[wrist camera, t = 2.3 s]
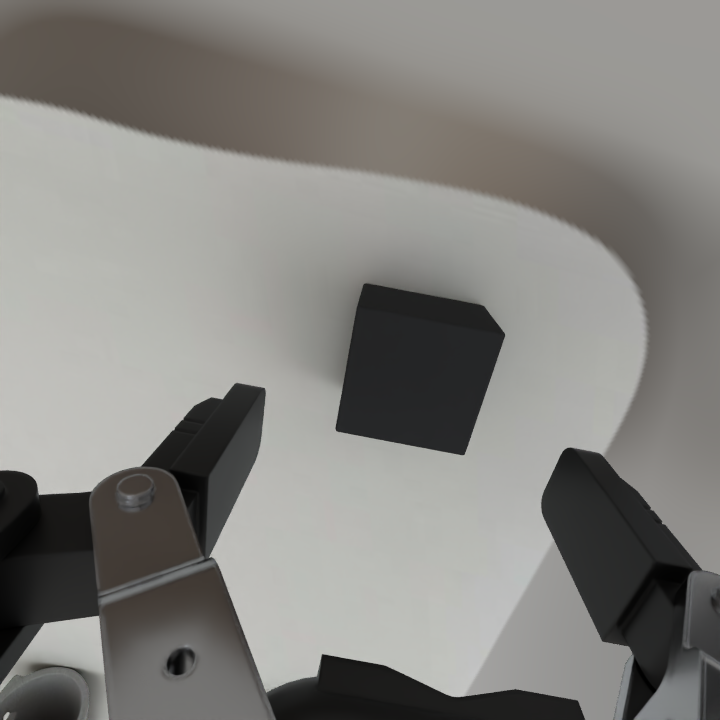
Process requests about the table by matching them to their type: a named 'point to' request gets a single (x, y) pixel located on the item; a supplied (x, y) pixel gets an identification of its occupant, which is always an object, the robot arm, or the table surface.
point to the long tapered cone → (46, 696)
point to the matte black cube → (417, 369)
